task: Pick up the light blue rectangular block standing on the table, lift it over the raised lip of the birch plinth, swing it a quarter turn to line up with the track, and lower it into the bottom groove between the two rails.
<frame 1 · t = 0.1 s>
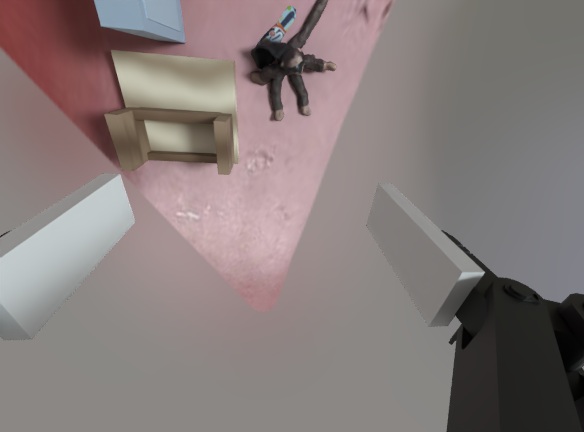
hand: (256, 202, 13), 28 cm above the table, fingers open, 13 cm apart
stuffed animal: (292, 62, 33), on the table
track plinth: (185, 112, 35), on the table
light blue rectangular block: (165, 1, 29), on the table
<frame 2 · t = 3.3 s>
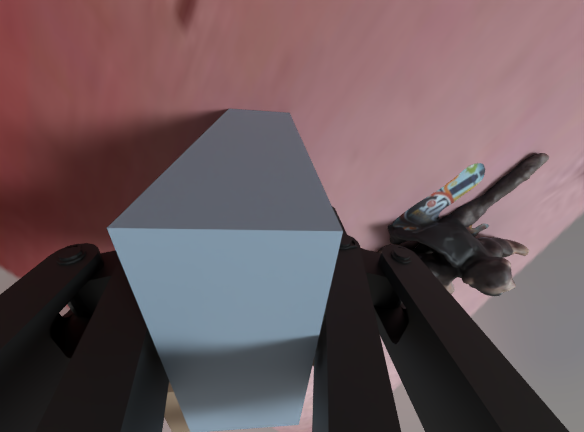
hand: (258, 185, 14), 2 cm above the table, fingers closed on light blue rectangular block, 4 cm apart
stuffed animal: (444, 229, 21), on the table
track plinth: (264, 299, 22), on the table
light blue rectangular block: (259, 175, 16), on the table, touching gripper
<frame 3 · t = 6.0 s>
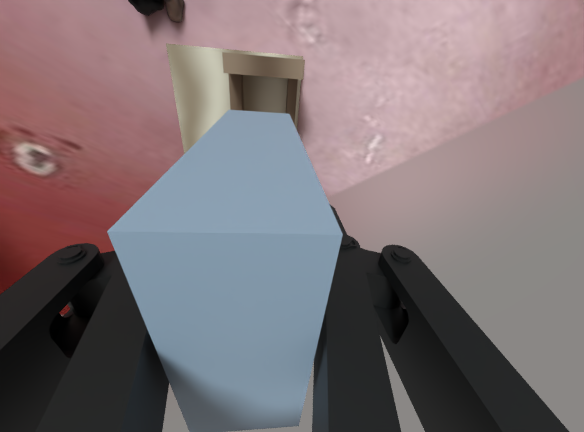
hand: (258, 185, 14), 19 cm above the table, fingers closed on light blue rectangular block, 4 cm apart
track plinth: (240, 123, 30), on the table
light blue rectangular block: (259, 176, 16), point 17 cm above the table, touching gripper
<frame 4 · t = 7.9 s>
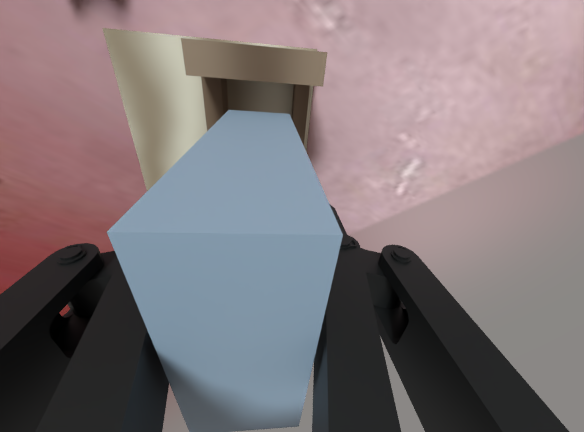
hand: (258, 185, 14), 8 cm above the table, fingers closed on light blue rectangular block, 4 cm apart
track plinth: (226, 145, 21), on the table
light blue rectangular block: (259, 176, 16), point 7 cm above the table, touching gripper
when the fingers open (5 cm above the table, at t = 8.9 s): light blue rectangular block drops 1 cm, resting on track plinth.
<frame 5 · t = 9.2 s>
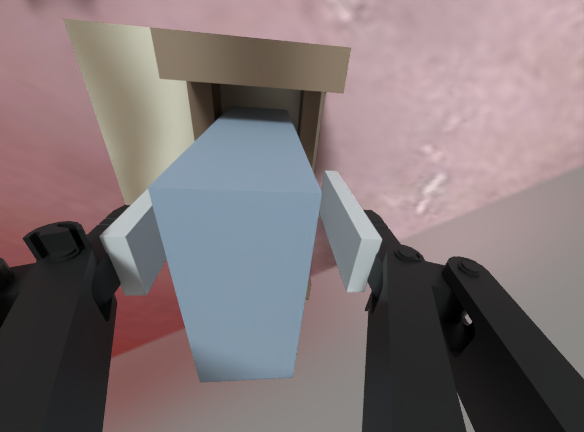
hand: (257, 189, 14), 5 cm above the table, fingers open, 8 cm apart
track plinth: (221, 158, 18), on the table
light blue rectangular block: (259, 168, 17), point 1 cm above the table, touching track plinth
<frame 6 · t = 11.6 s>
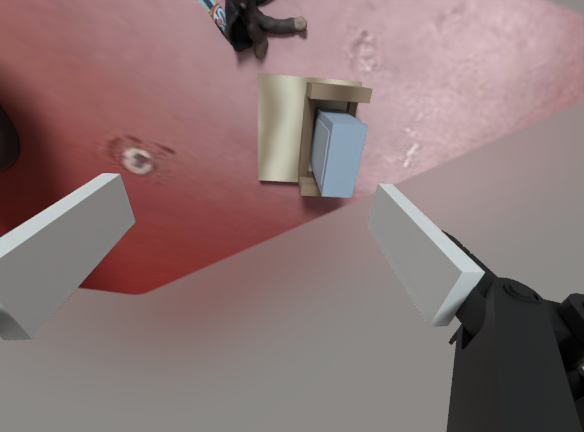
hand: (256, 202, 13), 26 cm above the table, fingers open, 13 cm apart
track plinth: (304, 133, 37), on the table
light blue rectangular block: (324, 137, 36), point 1 cm above the table, touching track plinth
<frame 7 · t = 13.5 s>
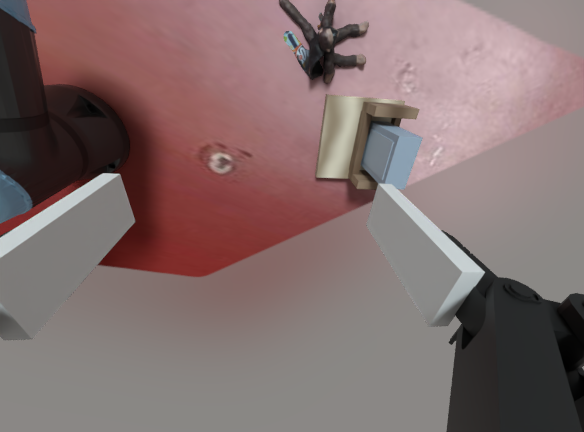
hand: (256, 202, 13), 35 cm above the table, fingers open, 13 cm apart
stuffed animal: (321, 39, 38), on the table
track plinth: (355, 140, 46), on the table
light blue rectangular block: (372, 143, 45), point 1 cm above the table, touching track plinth
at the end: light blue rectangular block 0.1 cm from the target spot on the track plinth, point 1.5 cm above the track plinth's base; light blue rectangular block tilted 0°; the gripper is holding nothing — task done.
